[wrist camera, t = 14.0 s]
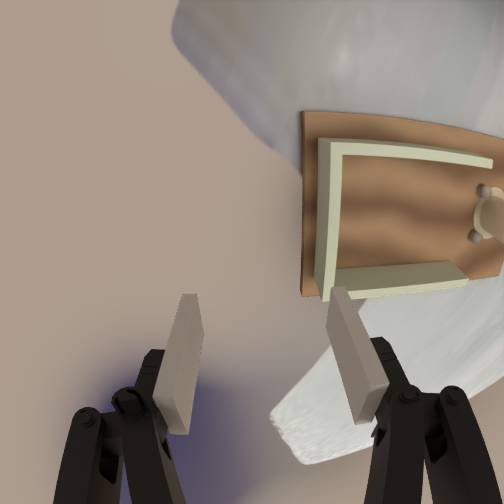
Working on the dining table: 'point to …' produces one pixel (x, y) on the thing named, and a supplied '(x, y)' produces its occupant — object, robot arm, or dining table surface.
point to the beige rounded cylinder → (493, 217)
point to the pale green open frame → (328, 217)
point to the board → (403, 198)
